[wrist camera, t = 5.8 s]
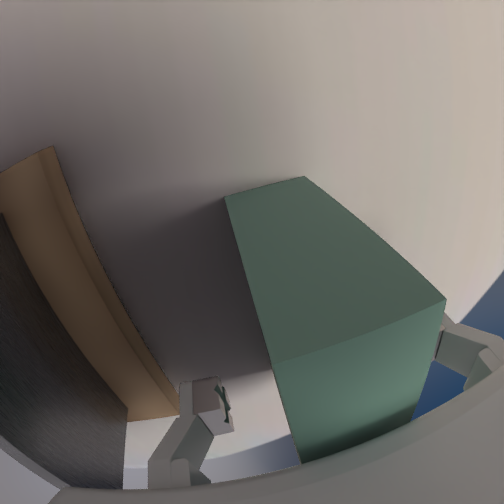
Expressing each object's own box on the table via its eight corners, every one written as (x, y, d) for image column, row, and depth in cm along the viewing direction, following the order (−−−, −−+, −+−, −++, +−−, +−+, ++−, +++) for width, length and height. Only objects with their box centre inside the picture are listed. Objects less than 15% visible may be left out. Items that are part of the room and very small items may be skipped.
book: (305, 175, 13) (448, 298, 5) (327, 351, 18) (386, 475, 10) (222, 196, 13) (269, 365, 5) (271, 368, 18) (312, 502, 10)
